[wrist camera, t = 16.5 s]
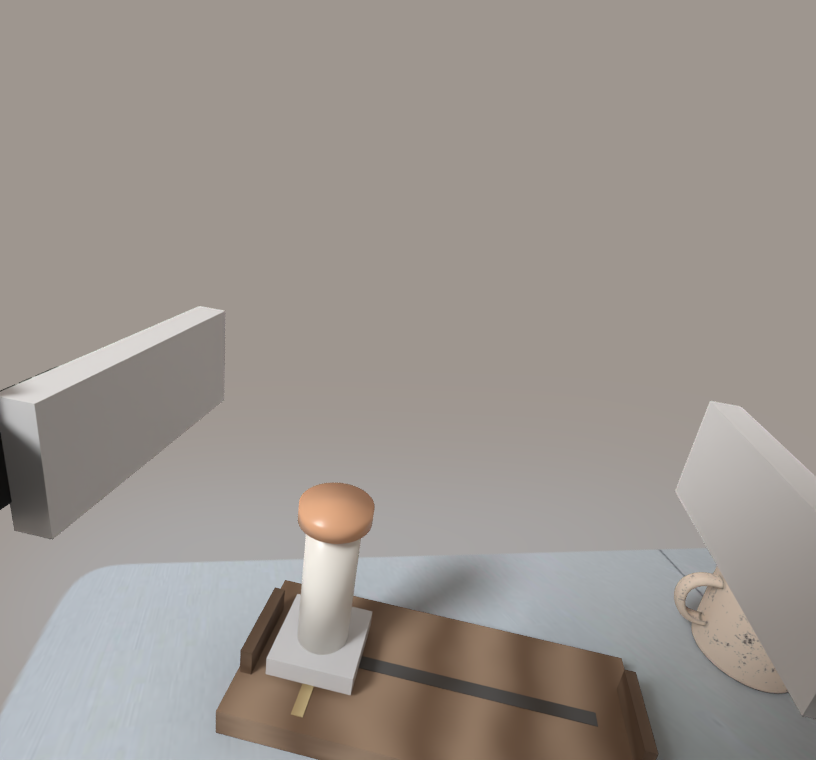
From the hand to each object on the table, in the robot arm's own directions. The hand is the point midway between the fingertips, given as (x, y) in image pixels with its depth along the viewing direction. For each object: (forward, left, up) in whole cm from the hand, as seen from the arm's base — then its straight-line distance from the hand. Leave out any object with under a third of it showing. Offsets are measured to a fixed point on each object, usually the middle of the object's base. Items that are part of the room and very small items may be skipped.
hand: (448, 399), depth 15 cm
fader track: (-3, -15, -30) cm, 34 cm away
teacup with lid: (-28, -27, -30) cm, 49 cm away
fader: (+6, -15, -28) cm, 32 cm away
